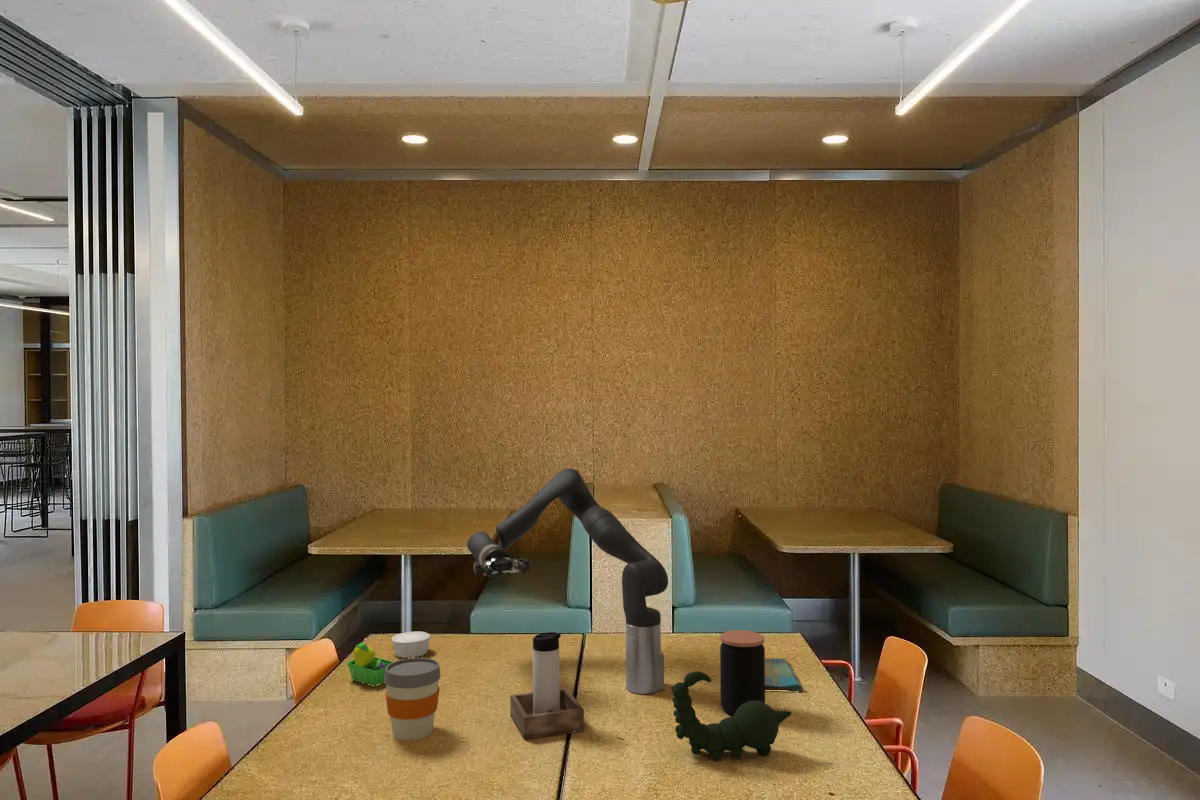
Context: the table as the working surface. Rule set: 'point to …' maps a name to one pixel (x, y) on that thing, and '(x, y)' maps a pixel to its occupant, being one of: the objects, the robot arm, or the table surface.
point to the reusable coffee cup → (412, 696)
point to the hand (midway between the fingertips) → (507, 571)
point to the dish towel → (780, 676)
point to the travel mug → (546, 673)
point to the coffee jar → (741, 669)
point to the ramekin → (411, 644)
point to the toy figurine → (725, 724)
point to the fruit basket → (367, 665)
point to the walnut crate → (546, 716)
